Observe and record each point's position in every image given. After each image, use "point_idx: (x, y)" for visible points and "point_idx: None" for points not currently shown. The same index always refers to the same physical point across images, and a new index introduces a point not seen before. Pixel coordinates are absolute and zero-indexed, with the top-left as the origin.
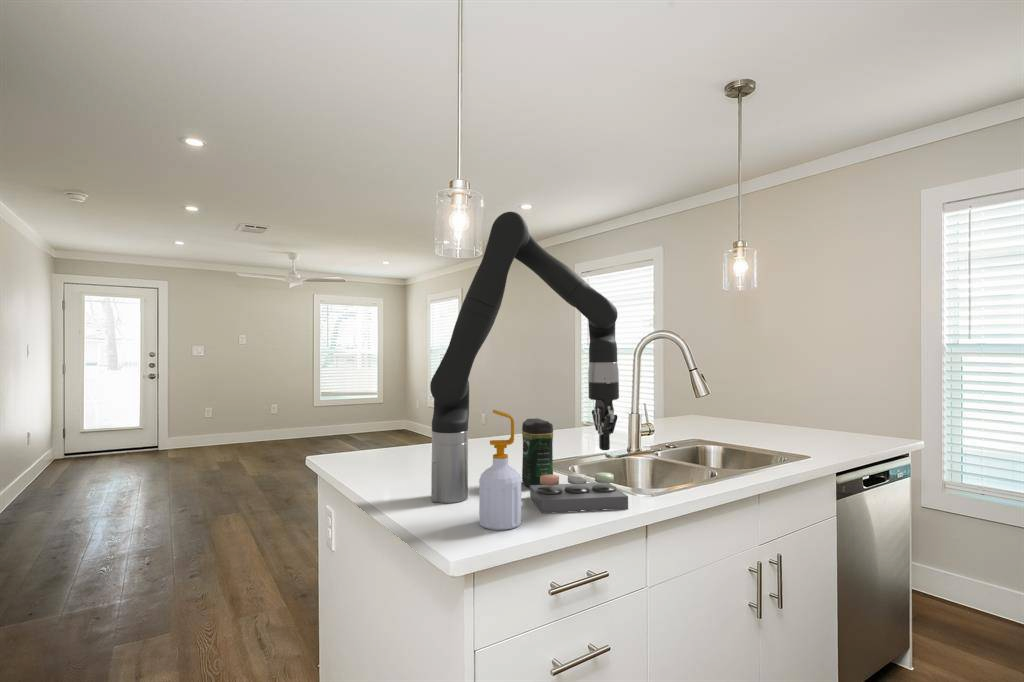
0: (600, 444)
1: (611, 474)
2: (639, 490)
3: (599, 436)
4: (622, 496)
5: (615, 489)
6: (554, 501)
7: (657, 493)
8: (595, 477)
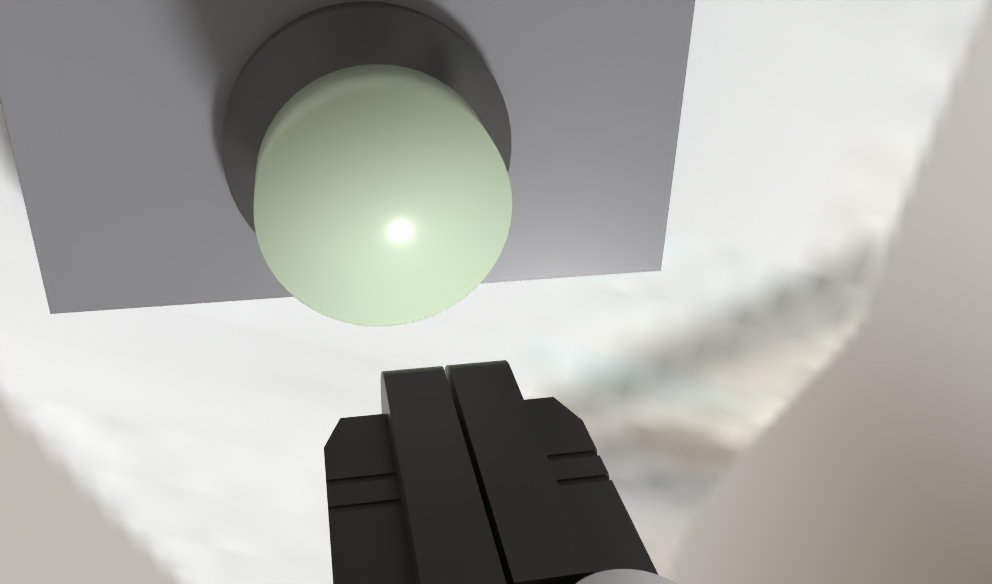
0: (442, 419)
1: (378, 305)
2: (649, 483)
3: (551, 538)
4: (39, 256)
5: None
6: None
7: None
8: (371, 78)
